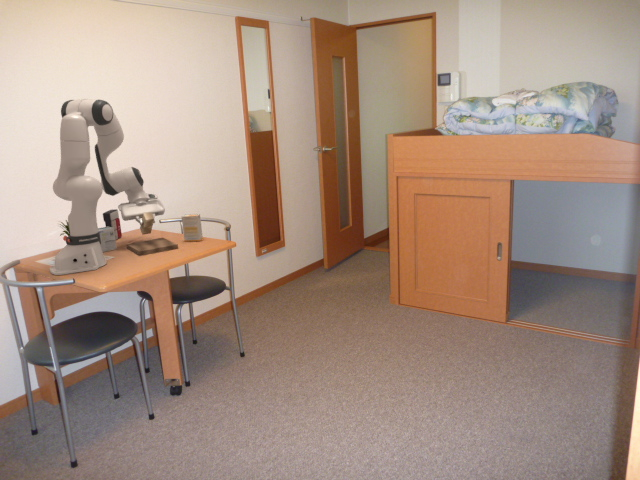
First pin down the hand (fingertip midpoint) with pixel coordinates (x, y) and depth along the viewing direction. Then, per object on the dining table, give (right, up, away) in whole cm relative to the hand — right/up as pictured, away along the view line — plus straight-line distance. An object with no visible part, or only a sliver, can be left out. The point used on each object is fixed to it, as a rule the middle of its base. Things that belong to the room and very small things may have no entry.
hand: (147, 223), depth 258 cm
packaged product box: (-25, -8, +24) cm, 36 cm away
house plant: (-38, -13, +3) cm, 40 cm away
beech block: (-3, -3, +6) cm, 7 cm away
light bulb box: (-22, -13, +1) cm, 25 cm away
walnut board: (+2, -12, +1) cm, 12 cm away
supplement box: (+19, -8, +12) cm, 24 cm away
